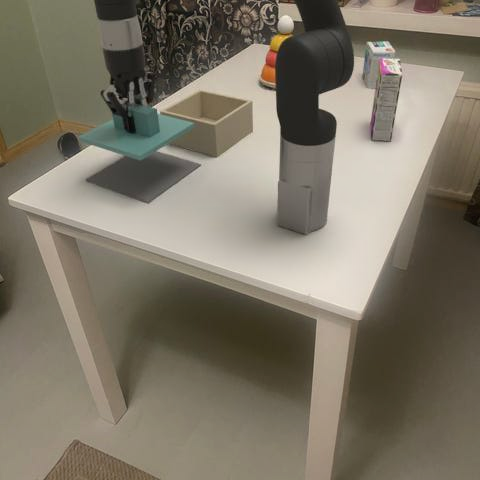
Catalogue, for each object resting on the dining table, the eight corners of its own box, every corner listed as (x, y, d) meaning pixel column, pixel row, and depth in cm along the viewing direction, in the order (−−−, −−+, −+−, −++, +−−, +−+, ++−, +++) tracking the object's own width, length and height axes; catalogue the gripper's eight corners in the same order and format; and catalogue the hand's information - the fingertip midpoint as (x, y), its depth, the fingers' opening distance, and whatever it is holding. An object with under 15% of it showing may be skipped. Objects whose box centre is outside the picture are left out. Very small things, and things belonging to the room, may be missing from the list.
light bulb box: (361, 76, 149) (366, 41, 142) (382, 76, 149) (388, 40, 142) (367, 89, 141) (372, 51, 134) (390, 88, 140) (396, 51, 134)
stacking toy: (270, 94, 139) (271, 24, 127) (252, 79, 150) (251, 13, 138) (313, 87, 143) (318, 18, 131) (292, 73, 154) (294, 8, 142)
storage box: (217, 157, 109) (215, 125, 104) (164, 142, 116) (159, 111, 111) (252, 131, 120) (252, 100, 115) (202, 118, 127) (199, 89, 122)
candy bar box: (369, 122, 122) (378, 57, 112) (389, 123, 121) (400, 58, 111) (369, 141, 113) (380, 72, 103) (391, 142, 113) (404, 73, 102)
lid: (141, 165, 90) (135, 131, 86) (80, 145, 98) (72, 113, 93) (194, 131, 101) (191, 100, 97) (136, 116, 109) (131, 86, 104)
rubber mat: (148, 203, 95) (148, 202, 94) (85, 180, 103) (85, 179, 102) (201, 165, 106) (200, 164, 106) (141, 147, 114) (141, 146, 114)
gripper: (109, 55, 81) (127, 146, 92) (161, 35, 90) (172, 120, 101) (79, 49, 85) (99, 138, 95) (133, 31, 94) (146, 113, 104)
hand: (137, 128), depth 98 cm, fingers closed on lid, 3 cm apart
